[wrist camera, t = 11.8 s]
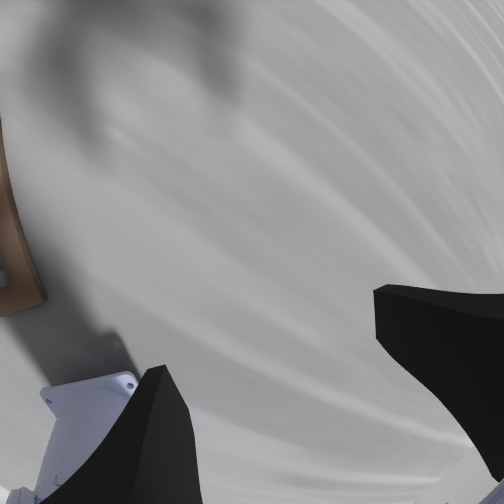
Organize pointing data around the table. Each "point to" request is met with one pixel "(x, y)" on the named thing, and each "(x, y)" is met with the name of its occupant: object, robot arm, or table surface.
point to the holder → (14, 253)
